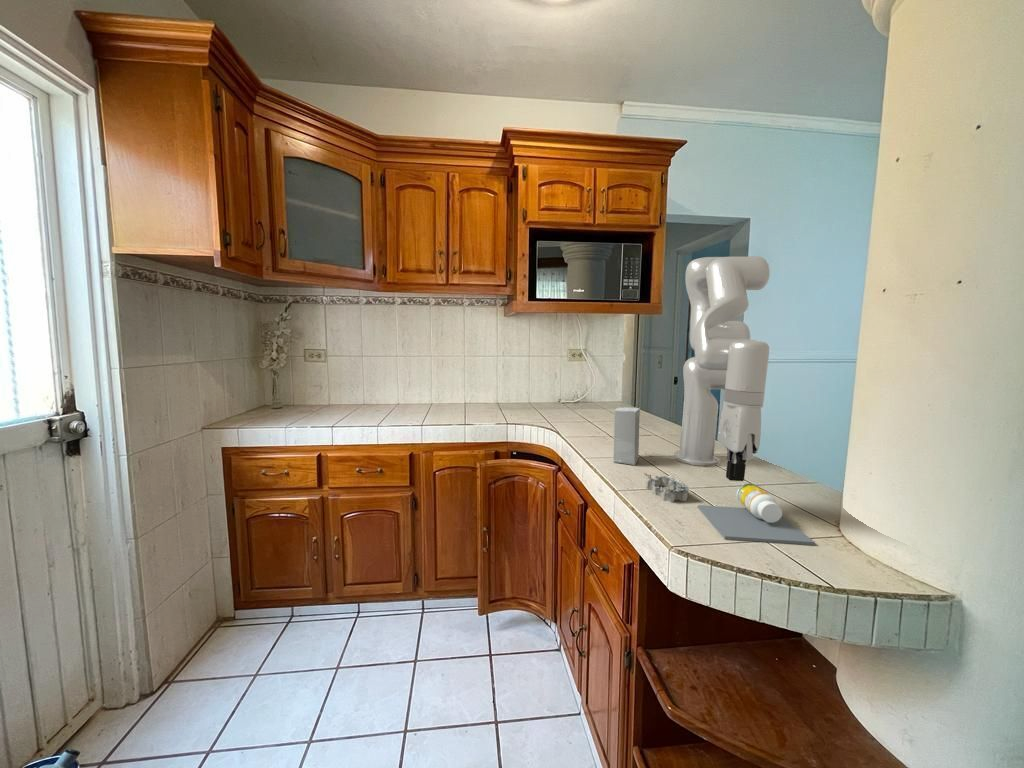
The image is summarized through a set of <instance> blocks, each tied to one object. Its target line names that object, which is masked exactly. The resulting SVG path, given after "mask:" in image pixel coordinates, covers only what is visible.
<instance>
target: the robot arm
mask: <svg viewBox="0 0 1024 768" xmlns="http://www.w3.org/2000/svg"><path fill="white" fill-rule="evenodd" d="M770 271H771V270H770V266H769V263H768V261H767V260H766V259H765V258H764V257H762V256H755V255H754V256H707V257H706V256H705V257H699V258H696V259H693V260H691V261H690V262H689V263H688V264H687V266H686V269H685V281H684V282H685V288H686V292H687V296H688V299H689V304H690V321H689V322H690V323H689V324H690V325H689V326H690V327H689V330H690V331H689V342H690V347H691V349H692V350H693V351H694V356H693V357H690V358H688V359H687V360H686V361H685V362H684V365H683V368H682V373H683V375H682V376H683V390H684V391H683V407H682V420H681V430H680V431H681V432H680V443H679V444H680V445H679V450H678V451H675V452H673V458H674V459H675V460H677V461H679V462H680V463H681V462H682V463H684V464H687V465H692V466H699V467H713V466H717V465H719V463H720V459H719V458H718V457H717V456H715V447H716V446H715V445H716V436H717V442H718V443H719V444H721V445H722V446H723V447H724V448H725V449H726V459H727V462H726V470H725V471H726V472H725V478H726V479H727V480H728V481H731V482H732V481H733V482H744V481H745V474H746V465H747V464H748V461H750V462H751V461H753V459H754V457H753V455H754V454H757V453H758V452H759V450H760V444H761V436H762V435H761V432H762V408H764V401H765V393H766V392H765V391H766V383H767V373H768V366H769V365H768V364H769V358H770V357H769V356H770V346H769V343H767V342H764V341H761V340H760V341H759V340H756V339H752V338H751V332H750V329H749V326H748V325H747V324H746V323H745V322H743V321H739V320H735V319H737V318H739V317H741V316H742V315H744V314H745V313H746V311H747V310H748V308H749V300H748V293H747V291H760V290H762V289H764V288H765V287H766V285H767V284H768V282H769V280H770V275H771V274H770ZM711 390H722V391H723V390H724V392H723V393H724V394H723V402H722V403H723V405H722V409H721V413H720V419H719V423H718V415H719V403H718V400H717V399H716V397H715V396H714V395H713V393H712V392H711ZM717 425H718V431H717Z"/></svg>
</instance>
